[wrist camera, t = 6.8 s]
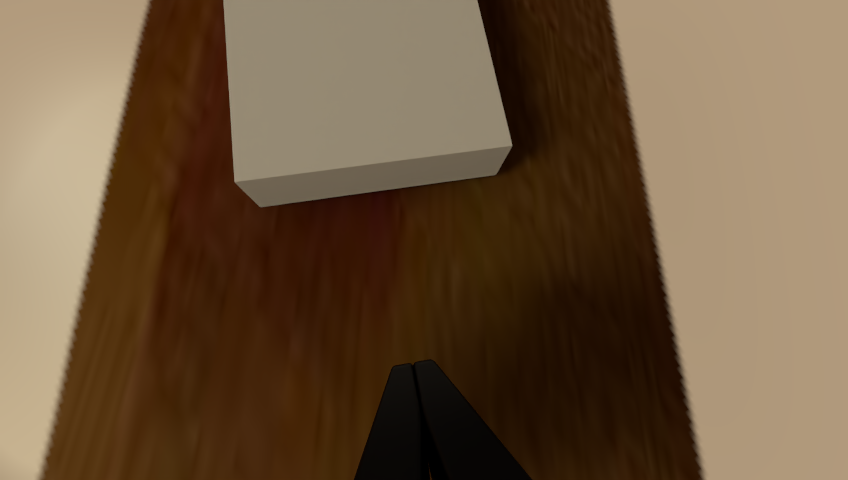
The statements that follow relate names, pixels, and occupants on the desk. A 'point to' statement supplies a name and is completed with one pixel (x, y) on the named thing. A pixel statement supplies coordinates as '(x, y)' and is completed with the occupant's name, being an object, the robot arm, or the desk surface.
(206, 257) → the desk surface
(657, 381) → the desk surface
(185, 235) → the desk surface
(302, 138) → the tile
